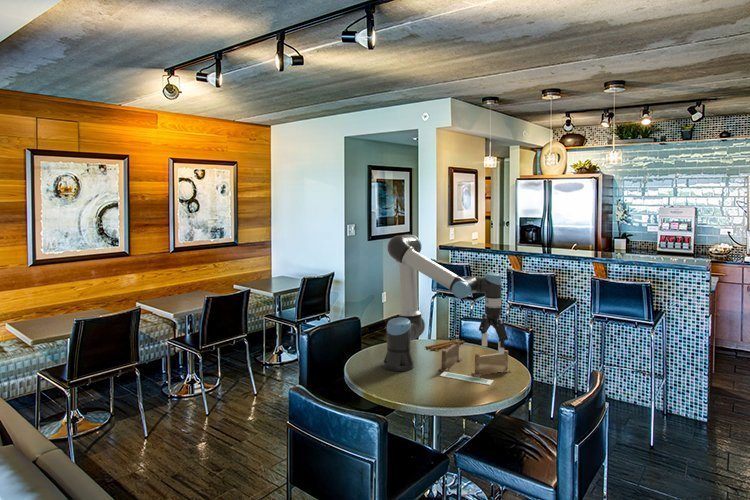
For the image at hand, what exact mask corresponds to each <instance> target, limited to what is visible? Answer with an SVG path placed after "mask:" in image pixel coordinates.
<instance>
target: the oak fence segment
mask: <svg viewBox="0 0 750 500" xmlns="http://www.w3.org/2000/svg"><path fill="white" fill-rule="evenodd" d="M508 367H509V350H506V349H504V354H501V355H499V354H498V352H496V353H489V354H483V355H481V354H479V353H475V354H474V371H471V375H472V374H473V377H478V378H481V377H483V376H486V374H487V375H492V374H491V373H494V374H498V373H497V372H501V373H505V372H508V373H511V369H509V368H508ZM480 376H481V377H480Z"/></svg>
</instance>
